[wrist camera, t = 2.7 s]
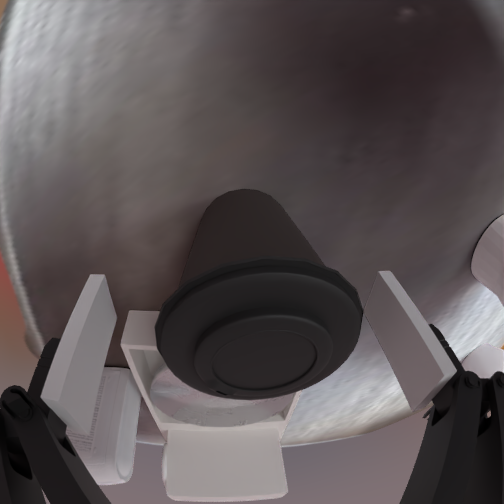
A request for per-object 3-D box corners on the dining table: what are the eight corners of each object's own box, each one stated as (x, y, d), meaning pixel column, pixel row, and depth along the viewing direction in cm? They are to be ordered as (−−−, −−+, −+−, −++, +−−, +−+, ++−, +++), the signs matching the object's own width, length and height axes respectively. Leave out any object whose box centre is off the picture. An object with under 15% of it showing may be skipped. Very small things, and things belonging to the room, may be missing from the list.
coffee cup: (168, 268, 19) (146, 404, 11) (194, 150, 15) (162, 254, 7) (281, 289, 21) (314, 416, 13) (328, 188, 17) (415, 301, 9)
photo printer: (71, 383, 27) (51, 476, 17) (52, 361, 24) (24, 461, 14) (148, 385, 27) (139, 495, 17) (134, 362, 25) (117, 485, 15)
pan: (142, 327, 21) (135, 360, 18) (297, 326, 22) (306, 358, 20) (165, 400, 28) (163, 426, 25) (277, 398, 29) (281, 423, 26)
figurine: (490, 352, 35) (519, 404, 25) (456, 374, 37) (484, 430, 27) (498, 330, 32) (534, 387, 22) (462, 355, 33) (496, 418, 23)
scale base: (129, 310, 21) (99, 449, 12) (309, 309, 23) (352, 444, 13) (168, 420, 32) (166, 500, 23) (276, 419, 34) (288, 497, 25)
